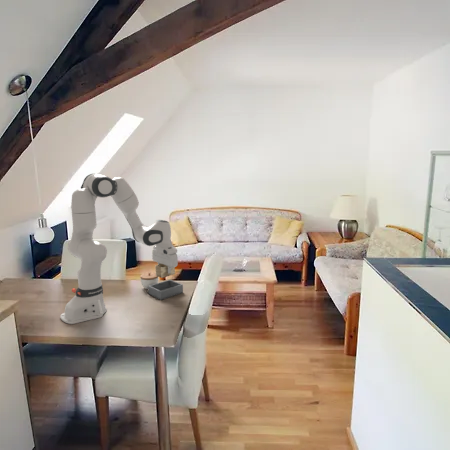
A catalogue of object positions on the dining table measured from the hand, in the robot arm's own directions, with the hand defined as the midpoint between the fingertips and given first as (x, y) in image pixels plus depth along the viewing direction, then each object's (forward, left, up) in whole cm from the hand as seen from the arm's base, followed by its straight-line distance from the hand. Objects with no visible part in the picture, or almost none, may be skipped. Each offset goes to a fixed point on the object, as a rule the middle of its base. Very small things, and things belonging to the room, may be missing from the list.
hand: (165, 271), depth 228 cm
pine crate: (0, 0, -2) cm, 2 cm away
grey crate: (0, 0, -13) cm, 13 cm away
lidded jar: (-1, +15, -14) cm, 20 cm away
